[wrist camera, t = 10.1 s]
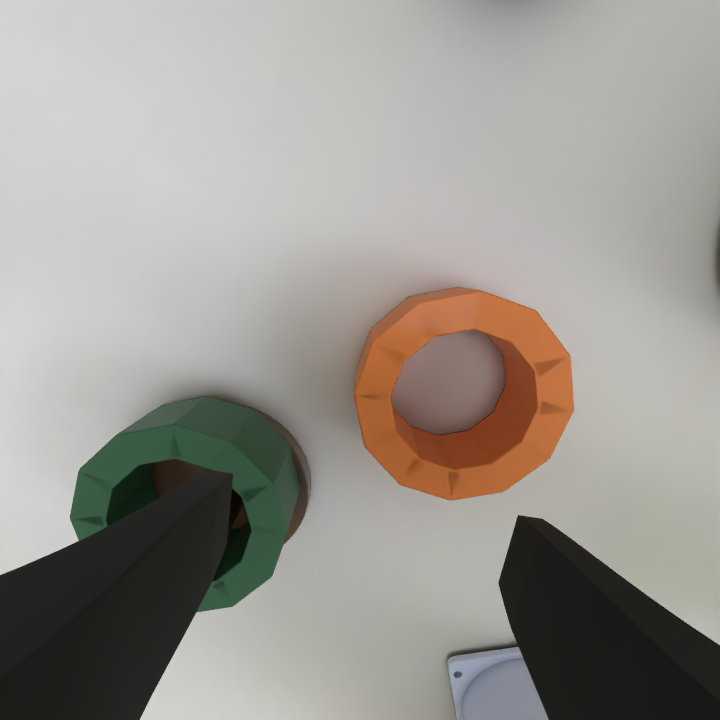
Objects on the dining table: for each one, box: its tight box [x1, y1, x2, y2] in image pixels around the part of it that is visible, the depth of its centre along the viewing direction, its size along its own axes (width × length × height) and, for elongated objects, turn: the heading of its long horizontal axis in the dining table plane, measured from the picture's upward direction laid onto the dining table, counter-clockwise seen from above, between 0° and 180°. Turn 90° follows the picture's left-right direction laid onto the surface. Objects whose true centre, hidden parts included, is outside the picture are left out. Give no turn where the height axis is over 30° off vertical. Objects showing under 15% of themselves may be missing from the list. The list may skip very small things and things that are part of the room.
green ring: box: [70, 396, 300, 612], centre depth 18 cm, size 9×9×4 cm
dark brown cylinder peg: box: [151, 405, 311, 544], centre depth 17 cm, size 9×9×7 cm
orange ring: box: [354, 287, 574, 500], centre depth 17 cm, size 9×9×4 cm
